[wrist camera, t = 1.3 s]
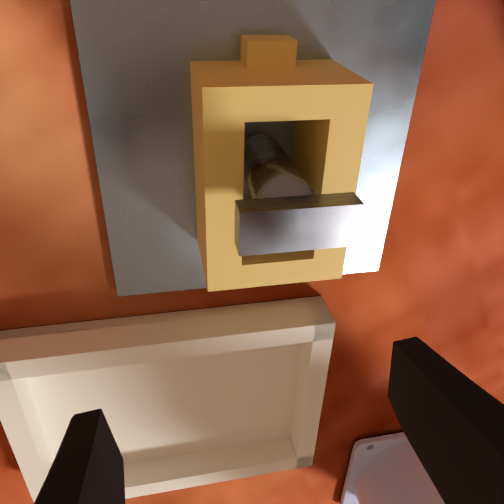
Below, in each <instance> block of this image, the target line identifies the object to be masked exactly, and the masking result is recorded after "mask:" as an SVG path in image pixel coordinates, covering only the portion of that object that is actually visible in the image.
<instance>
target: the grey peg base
mask: <svg viewBox="0 0 504 504" xmlns="http://www.w3.org/2000/svg"><path fill="white" fill-rule="evenodd" d="M435 1H436V0H70V4H71V11H72V17H73V23H74V29H75V35H76V42H77V48H78V54H79V60H80V66H81V73H82V79H83V85H84V91H85V97H86V104H87V110H88V116H89V122H90V128H91V135H92V141H93V147H94V153H95V159H96V166H97V172H98V178H99V184H100V191H101V197H102V203H103V209H104V215H105V222H106V228H107V234H108V240H109V246H110V253H111V259H112V265H113V271H114V277H115V284H116V290H117V296H118V297H120V296H130V295H140V294H150V293H160V292H170V291H180V290H190V289H200V288H207V285H206V281H205V276H204V271H203V266H202V261H201V256H200V251H199V246H198V241H197V220H196V196H195V171H194V147H193V122H192V97H191V73H190V61H234V60H240V49H241V35H289V36H291V37H292V38H294V39H296V40H297V55H296V60H326V59H333V60H334V61H336V62H338V63H339V64H341V65H343V66H345V67H346V68H348V69H350V70H351V71H353V72H355V73H356V74H358V75H360V76H361V77H363V78H365V79H366V80H368V81H370V82H372V83H373V84H374V85H373V91H372V97H371V103H370V109H369V115H368V121H367V127H366V133H365V139H364V146H363V152H362V158H361V164H360V170H359V176H358V182H357V188H356V194H355V193H354V192H346V193H331V194H316V195H315V193H314V192H313V190H312V189H311V188H310V186H309V185H308V183H307V182H306V181H305V179H304V178H303V176H302V175H301V174H300V172H299V171H298V169H297V168H296V167H295V165H294V164H293V162H292V152H293V140H294V127H295V121H267V122H245V132H244V181H243V199H241V200H235V224H234V242H235V245H236V248H237V252H238V255H239V256H249V255H260V254H271V253H283V252H294V251H305V250H316V249H328V248H339V247H347V249H346V255H345V261H344V268H343V274H350V273H360V272H370V271H378V268H379V263H380V259H381V254H382V249H383V245H384V240H385V235H386V231H387V226H388V221H389V217H390V212H391V207H392V203H393V198H394V193H395V189H396V184H397V179H398V174H399V170H400V165H401V160H402V156H403V151H404V146H405V142H406V137H407V132H408V128H409V123H410V118H411V114H412V109H413V104H414V100H415V95H416V90H417V85H418V81H419V76H420V71H421V67H422V62H423V57H424V53H425V48H426V43H427V39H428V34H429V29H430V25H431V20H432V15H433V11H434V6H435Z"/></svg>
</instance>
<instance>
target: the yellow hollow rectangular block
mask: <svg viewBox="0 0 504 504" xmlns="http://www.w3.org/2000/svg"><path fill="white" fill-rule="evenodd" d="M296 55H297V40H296V39H294V38H292V37H291V36H289V35H241V49H240V60H234V61H190V73H191V97H192V122H193V147H194V171H195V196H196V220H197V241H198V246H199V251H200V256H201V261H202V266H203V271H204V276H205V281H206V285H207V290H208V292H211V291H221V290H231V289H241V288H251V287H260V286H270V285H280V284H290V283H300V282H309V281H319V280H329V279H339V278H342V274H343V268H344V261H345V255H346V249H347V247H339V248H328V249H316V250H305V251H294V252H283V253H271V254H260V255H249V256H239V255H238V252H237V248H236V245H235V242H234V224H235V200H241V199H243V181H244V132H245V122H267V121H295V127H294V140H293V152H292V162H293V164H294V165H295V167H296V168H297V169H298V171H299V172H300V174H301V175H302V176H303V178H304V179H305V181H306V182H307V183H308V185H309V186H310V188H311V189H312V190H313V192H314V193H315V195H316V194H331V193H346V192H354V193H355V194H356V188H357V182H358V176H359V170H360V164H361V158H362V152H363V146H364V139H365V133H366V127H367V121H368V115H369V109H370V103H371V97H372V91H373V85H374V84H373V83H372V82H370V81H368V80H366V79H365V78H363V77H361V76H360V75H358V74H356V73H355V72H353V71H351V70H350V69H348V68H346V67H345V66H343V65H341V64H339V63H338V62H336V61H334V60H333V59H326V60H296Z"/></svg>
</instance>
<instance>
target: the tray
mask: <svg viewBox="0 0 504 504" xmlns="http://www.w3.org/2000/svg"><path fill="white" fill-rule="evenodd" d="M335 325H336V322H335V320H334V318H333V316H332V314H331V312H330V311H329V309H328V307H327V305H326V303H325V301H324V299H323V297H322V296H315V297H306V298H297V299H287V300H278V301H269V302H260V303H250V304H241V305H232V306H223V307H214V308H204V309H195V310H186V311H177V312H167V313H158V314H149V315H140V316H130V317H121V318H112V319H103V320H93V321H84V322H75V323H66V324H56V325H47V326H38V327H29V328H19V329H10V330H1V331H0V421H1V423H2V426H3V428H4V431H5V433H6V436H7V438H8V441H9V443H10V445H11V448H12V450H13V453H14V455H15V458H16V460H17V463H18V465H19V467H20V470H21V472H22V475H23V477H24V480H25V482H26V485H27V487H28V490H29V492H30V494H31V497H32V499H33V502H35V500H36V498H37V496H38V494H39V492H40V490H41V487H42V485H43V483H44V481H45V479H46V477H47V475H48V472H49V470H50V468H51V466H52V463H53V461H54V459H55V457H56V454H57V452H58V450H59V447H60V445H61V442H62V440H63V438H64V435H65V433H66V430H67V428H68V425H69V423H70V420H71V418H72V417H73V416H74V414H78V413H83V412H87V411H92V410H96V409H100V408H101V409H102V411H103V414H104V416H105V418H106V420H107V423H108V425H109V427H110V430H111V432H112V434H113V436H114V439H115V441H116V443H117V446H118V448H119V450H120V452H121V455H122V457H123V462H124V481H125V499H127V498H133V497H138V496H144V495H149V494H155V493H161V492H166V491H172V490H178V489H183V488H189V487H195V486H200V485H206V484H211V483H217V482H223V481H228V480H234V479H240V478H245V477H251V476H257V475H262V474H268V473H273V472H279V471H285V470H290V469H296V468H302V467H307V466H312V464H313V458H314V452H315V446H316V440H317V434H318V427H319V421H320V415H321V409H322V403H323V397H324V391H325V385H326V379H327V373H328V367H329V361H330V355H331V349H332V343H333V337H334V331H335Z"/></svg>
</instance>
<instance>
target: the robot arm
mask: <svg viewBox="0 0 504 504" xmlns="http://www.w3.org/2000/svg"><path fill="white" fill-rule="evenodd" d="M388 397H389V399H390V402H391V404H392V407H393V409H394V411H395V414H396V416H397V418H398V420H399V423H400V425H401V427H402V429H403V432H401V433H395V434H389V435H383V436H378V437H372V438H366V439H361V440H358V441H356V442H355V444H354V445H353V450H352V454H351V458H350V462H349V466H348V471H347V475H346V479H345V483H344V487H343V492H342V496H341V500H340V504H504V404H502V403H501V402H500V401H498V400H497V399H496V398H494V397H493V396H492V395H490V394H489V393H488V392H486V391H485V390H484V389H482V388H481V387H480V386H478V385H477V384H476V383H474V382H473V381H472V380H470V379H469V378H468V377H467V376H465V375H464V374H463V373H461V372H460V371H459V370H458V369H456V368H455V367H454V366H453V365H451V364H450V363H449V362H448V361H446V360H445V359H444V358H443V357H441V356H440V355H439V354H438V353H436V352H435V351H434V350H433V349H431V348H430V347H429V346H428V345H426V344H425V343H424V342H423V341H421V340H420V339H419V338H417V337H412V338H408V339H404V340H399V341H395V342H393V350H392V359H391V369H390V378H389V388H388ZM34 504H125V481H124V462H123V457H122V455H121V452H120V450H119V448H118V446H117V443H116V441H115V439H114V436H113V434H112V432H111V430H110V427H109V425H108V423H107V420H106V418H105V416H104V414H103V411H102V409H101V408H100V409H96V410H92V411H87V412H83V413H78V414H74V416H73V417H72V418H71V420H70V423H69V425H68V428H67V430H66V433H65V435H64V438H63V440H62V442H61V445H60V447H59V450H58V452H57V454H56V457H55V459H54V461H53V463H52V466H51V468H50V470H49V472H48V475H47V477H46V479H45V481H44V483H43V485H42V487H41V490H40V492H39V494H38V496H37V498H36V500H35V502H34Z"/></svg>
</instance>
